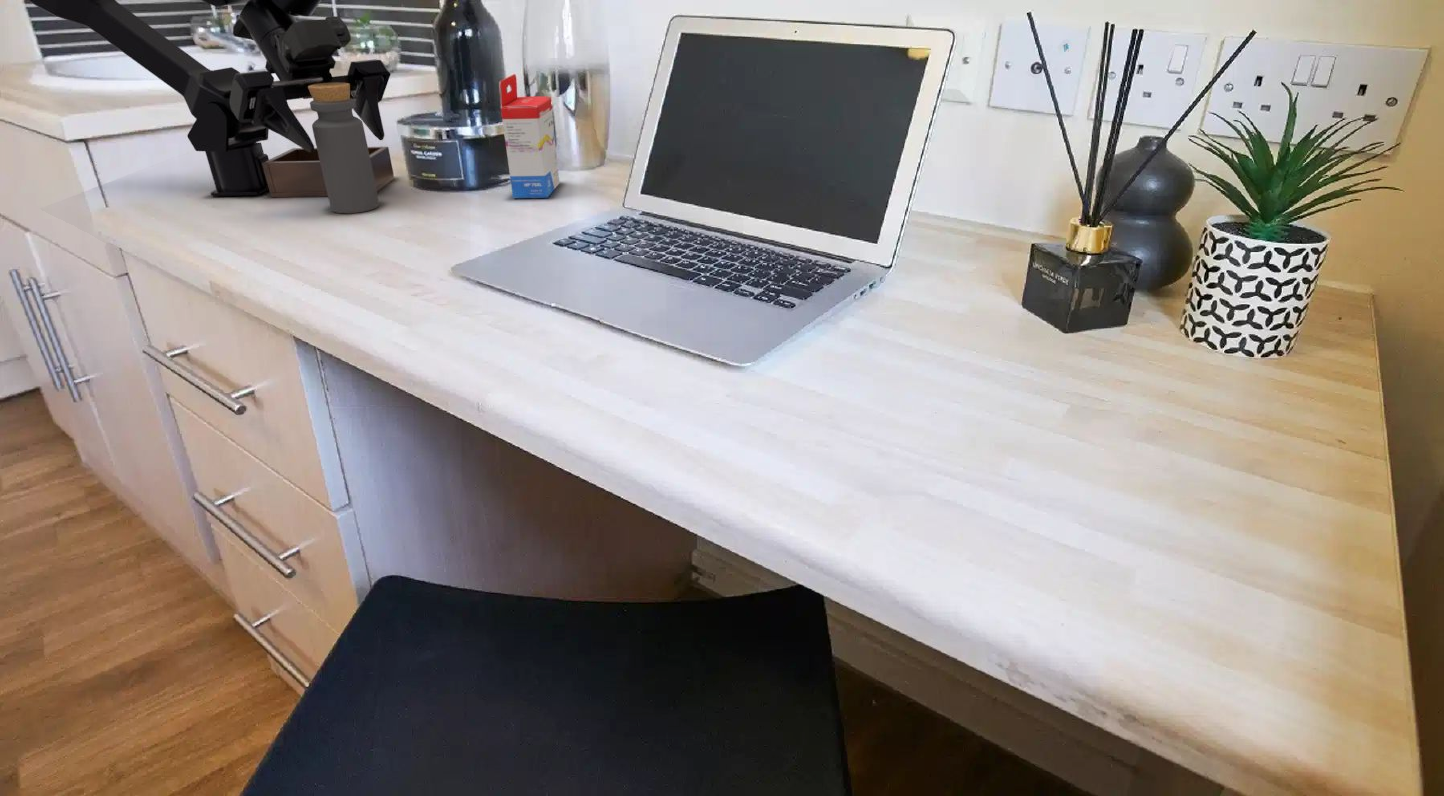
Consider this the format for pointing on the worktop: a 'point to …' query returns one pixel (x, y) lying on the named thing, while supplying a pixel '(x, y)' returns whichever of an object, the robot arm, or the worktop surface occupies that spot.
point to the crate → (315, 172)
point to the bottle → (342, 149)
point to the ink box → (529, 142)
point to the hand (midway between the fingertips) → (348, 143)
